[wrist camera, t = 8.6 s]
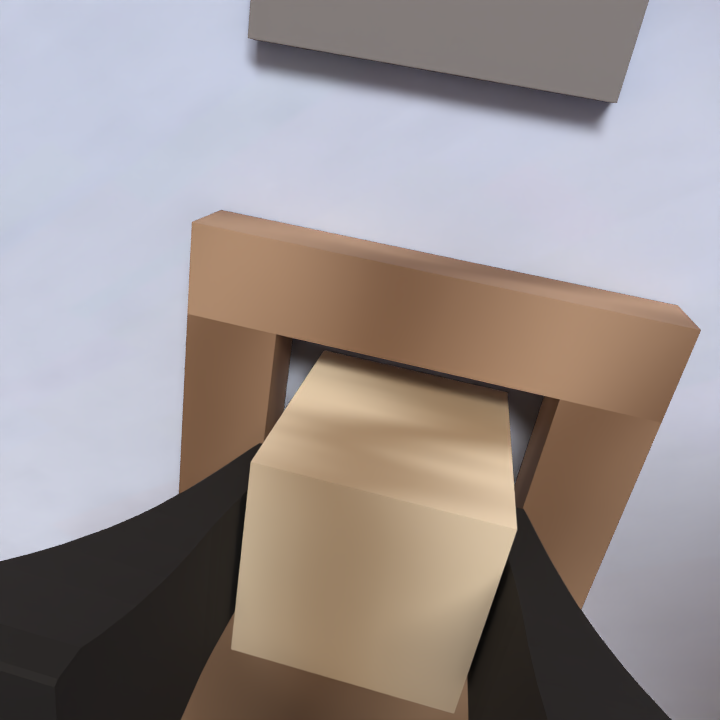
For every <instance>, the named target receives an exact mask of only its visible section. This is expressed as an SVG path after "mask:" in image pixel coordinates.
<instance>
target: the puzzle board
mask: <svg viewBox="0 0 720 720" xmlns="http://www.w3.org/2000/svg"><path fill="white" fill-rule="evenodd" d="M700 331H701V330H700V329H699V328H698V326H697V325H696V324H695V323H694V322H693V321H692V320H691V319H690V318H689V317H688V316H687V315H686V314H685V313H684V312H683V310H682V309H681V308H680V307H679V306H678V305H673V304H668V303H663V302H658V301H654V300H649V299H644V298H639V297H634V296H630V295H625V294H620V293H615V292H611V291H606V290H601V289H596V288H591V287H587V286H582V285H577V284H572V283H568V282H563V281H558V280H553V279H548V278H544V277H539V276H534V275H529V274H524V273H520V272H515V271H510V270H505V269H501V268H496V267H491V266H486V265H481V264H477V263H472V262H467V261H462V260H457V259H453V258H448V257H443V256H438V255H434V254H429V253H424V252H419V251H414V250H410V249H405V248H400V247H395V246H391V245H386V244H381V243H376V242H371V241H367V240H362V239H357V238H352V237H347V236H343V235H338V234H333V233H328V232H324V231H319V230H314V229H309V228H304V227H300V226H295V225H290V224H285V223H281V222H276V221H271V220H266V219H261V218H257V217H252V216H247V215H242V214H237V213H233V212H228V211H223V210H220V211H218V212H215V213H213V214H210V215H208V216H206V217H203V218H201V219H198V220H196V221H193V222H192V232H191V253H190V274H189V294H188V315H187V336H186V357H185V378H184V399H183V420H182V440H181V461H180V482H179V494H180V493H182V492H183V491H185V490H187V489H189V488H190V487H192V486H194V485H195V484H197V483H198V482H200V481H202V480H203V479H205V478H206V477H208V476H210V475H211V474H213V473H214V472H216V471H218V470H219V469H221V468H222V467H224V466H225V465H227V464H228V463H230V462H231V461H233V460H234V459H236V458H237V457H239V456H240V455H242V454H243V453H244V452H246V451H247V450H249V449H251V448H252V447H254V446H255V445H257V444H259V443H262V444H263V442H264V441H265V439H266V438H267V436H268V435H269V433H270V432H271V430H272V429H273V427H274V426H275V424H276V423H277V421H278V420H279V418H280V417H281V415H282V413H283V411H284V403H285V395H286V387H287V379H288V372H289V364H290V356H291V348H292V340H293V338H295V339H299V340H304V341H308V342H312V343H317V344H321V345H325V346H330V347H334V348H339V349H343V350H347V351H352V352H356V353H360V354H365V355H369V356H373V357H378V358H382V359H386V360H391V361H395V362H399V363H404V364H408V365H412V366H417V367H421V368H426V369H430V370H434V371H439V372H443V373H447V374H452V375H456V376H460V377H465V378H469V379H473V380H478V381H482V382H486V383H491V384H495V385H500V386H504V387H508V388H513V389H517V390H521V391H526V392H530V393H534V394H539V395H543V396H544V398H543V401H542V404H541V407H540V410H539V413H538V416H537V419H536V422H535V425H534V428H533V431H532V434H531V437H530V440H529V443H528V447H527V450H526V453H525V456H524V459H523V462H522V465H521V468H520V471H519V474H518V477H517V480H516V483H515V486H514V492H515V506H516V507H518V508H522V509H524V510H525V512H526V514H527V515H528V517H529V519H530V521H531V523H532V525H533V527H534V529H535V531H536V533H537V535H538V537H539V539H540V541H541V542H542V544H543V546H544V548H545V550H546V552H547V554H548V556H549V557H550V559H551V561H552V563H553V565H554V566H555V568H556V570H557V571H558V573H559V575H560V577H561V578H562V580H563V582H564V583H565V585H566V587H567V588H568V590H569V592H570V593H571V595H572V597H573V598H574V600H575V601H576V603H577V604H578V606H579V608H580V609H582V607H583V604H584V602H585V600H586V597H587V595H588V593H589V590H590V588H591V586H592V583H593V581H594V579H595V576H596V574H597V572H598V569H599V567H600V565H601V562H602V560H603V558H604V555H605V553H606V551H607V548H608V546H609V544H610V541H611V539H612V537H613V534H614V532H615V530H616V527H617V525H618V523H619V520H620V518H621V516H622V513H623V511H624V509H625V506H626V504H627V502H628V499H629V497H630V495H631V492H632V490H633V488H634V485H635V483H636V481H637V478H638V476H639V474H640V471H641V469H642V467H643V464H644V462H645V460H646V457H647V455H648V453H649V450H650V448H651V446H652V443H653V441H654V439H655V436H656V434H657V432H658V429H659V427H660V425H661V422H662V420H663V418H664V415H665V413H666V411H667V408H668V406H669V404H670V401H671V399H672V397H673V394H674V392H675V390H676V387H677V385H678V383H679V380H680V378H681V376H682V373H683V371H684V369H685V366H686V364H687V362H688V359H689V357H690V355H691V352H692V350H693V348H694V345H695V343H696V341H697V338H698V336H699V334H700ZM234 616H235V612H234V614H233V616H232V617H231V619H230V621H229V623H228V625H227V626H226V628H225V630H224V632H223V633H222V635H221V637H220V639H219V641H218V642H217V644H216V646H215V648H214V650H213V651H212V653H211V655H210V657H209V659H208V661H207V663H206V665H205V667H204V669H203V671H202V673H201V675H200V677H199V679H198V682H197V684H196V686H195V689H194V691H193V693H192V695H191V698H190V700H189V702H188V704H187V707H186V709H185V711H184V714H183V716H182V718H181V720H468V685H467V677H466V680H465V683H464V686H463V689H462V692H461V695H460V698H459V701H458V704H457V707H456V710H455V712H454V714H453V713H450V712H446V711H443V710H439V709H436V708H432V707H429V706H425V705H422V704H418V703H415V702H412V701H408V700H405V699H401V698H398V697H394V696H391V695H387V694H384V693H380V692H377V691H374V690H370V689H367V688H363V687H360V686H356V685H353V684H349V683H346V682H343V681H339V680H336V679H332V678H329V677H325V676H322V675H318V674H315V673H311V672H308V671H305V670H301V669H298V668H294V667H291V666H287V665H284V664H280V663H277V662H274V661H270V660H267V659H263V658H260V657H256V656H253V655H249V654H246V653H242V652H239V651H236V650H232V649H231V644H232V635H233V625H234Z"/></svg>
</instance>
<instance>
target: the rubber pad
mask: <svg viewBox="0 0 720 720" xmlns="http://www.w3.org/2000/svg"><path fill="white" fill-rule="evenodd" d="M648 2H649V0H251V2H250V15H249V29H248V38H250V39H254V40H258V41H264V42H270V43H275V44H281V45H287V46H292V47H298V48H304V49H309V50H315V51H321V52H326V53H332V54H338V55H343V56H349V57H355V58H360V59H366V60H372V61H378V62H383V63H389V64H395V65H400V66H406V67H412V68H417V69H423V70H429V71H434V72H440V73H446V74H451V75H457V76H463V77H468V78H474V79H480V80H485V81H491V82H497V83H502V84H508V85H514V86H519V87H525V88H531V89H536V90H542V91H548V92H553V93H559V94H565V95H570V96H576V97H582V98H587V99H593V100H599V101H604V102H610V103H617V101H618V97H619V94H620V91H621V88H622V85H623V81H624V78H625V75H626V72H627V69H628V66H629V62H630V59H631V56H632V53H633V50H634V46H635V43H636V40H637V37H638V34H639V30H640V27H641V24H642V21H643V18H644V14H645V11H646V8H647V5H648Z"/></svg>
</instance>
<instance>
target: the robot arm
mask: <svg viewBox="0 0 720 720" xmlns="http://www.w3.org/2000/svg"><path fill="white" fill-rule="evenodd" d="M261 446H262V443H259V444H257V445H255V446H254V447H252V448H251V449H249V450H247V451H246V452H244V453H243V454H242V455H240V456H239V457H237V458H236V459H234V460H233V461H231V462H230V463H228V464H227V465H225V466H224V467H222V468H221V469H219V470H218V471H216V472H214V473H213V474H211V475H210V476H208V477H206V478H205V479H203V480H202V481H200V482H198V483H197V484H195V485H194V486H192V487H190V488H189V489H187V490H185V491H183V492H182V493H180V494H178V495H176V496H174V497H173V498H171V499H169V500H167V501H165V502H164V503H162V504H160V505H158V506H156V507H154V508H152V509H150V510H148V511H146V512H144V513H142V514H140V515H138V516H135V517H133V518H131V519H128V520H126V521H124V522H121V523H119V524H117V525H114V526H112V527H110V528H107V529H104V530H101V531H99V532H96V533H93V534H90V535H87V536H85V537H82V538H79V539H76V540H73V541H71V542H68V543H65V544H62V545H59V546H55V547H52V548H49V549H45V550H42V551H38V552H35V553H31V554H27V555H23V556H20V557H16V558H12V559H8V560H4V561H0V720H181V718H182V716H183V714H184V711H185V709H186V707H187V704H188V702H189V700H190V698H191V695H192V693H193V691H194V689H195V686H196V684H197V682H198V679H199V677H200V675H201V673H202V671H203V669H204V667H205V665H206V663H207V661H208V659H209V657H210V655H211V653H212V651H213V650H214V648H215V646H216V644H217V642H218V641H219V639H220V637H221V635H222V633H223V632H224V630H225V628H226V626H227V625H228V623H229V621H230V619H231V617H232V616H233V614H234V612H235V606H236V597H237V588H238V578H239V569H240V559H241V550H242V540H243V531H244V521H245V512H246V502H247V493H248V483H249V474H250V464H251V461H252V459H253V458H254V456H255V455H256V453H257V452H258V450H259V449H260V447H261ZM516 520H517V532H516V535H515V537H514V540H513V543H512V546H511V549H510V552H509V555H508V558H507V561H506V564H505V567H504V570H503V572H502V575H501V578H500V581H499V584H498V587H497V590H496V593H495V596H494V599H493V602H492V605H491V607H490V610H489V613H488V616H487V619H486V622H485V625H484V628H483V631H482V634H481V637H480V640H479V642H478V645H477V648H476V651H475V654H474V657H473V660H472V663H471V666H470V669H469V672H468V675H467V685H468V720H671V719H670V718H669V717H668V716H667V715H666V714H665V713H664V711H663V710H662V709H661V708H660V707H659V706H658V705H657V704H656V703H655V702H654V701H653V699H652V698H651V697H650V696H649V695H648V694H647V693H646V692H645V691H644V690H643V689H642V688H641V686H640V685H639V684H638V683H637V682H636V681H635V680H634V678H633V677H632V676H631V675H630V674H629V673H628V671H627V670H626V669H625V668H624V667H623V665H622V664H621V663H620V662H619V660H618V659H617V658H616V657H615V655H614V654H613V653H612V652H611V650H610V649H609V648H608V646H607V645H606V644H605V643H604V641H603V640H602V639H601V637H600V636H599V635H598V633H597V632H596V631H595V629H594V628H593V627H592V625H591V624H590V622H589V621H588V619H587V618H586V616H585V615H584V613H583V612H582V610H581V609H580V608H579V606H578V604H577V603H576V601H575V600H574V598H573V597H572V595H571V593H570V592H569V590H568V588H567V587H566V585H565V583H564V582H563V580H562V578H561V577H560V575H559V573H558V571H557V570H556V568H555V566H554V565H553V563H552V561H551V559H550V557H549V556H548V554H547V552H546V550H545V548H544V546H543V544H542V542H541V541H540V539H539V537H538V535H537V533H536V531H535V529H534V527H533V525H532V523H531V521H530V519H529V517H528V515H527V514H526V512H525V510H524V509H522V508H518V507H516Z"/></svg>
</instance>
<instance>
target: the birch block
mask: <svg viewBox="0 0 720 720" xmlns="http://www.w3.org/2000/svg"><path fill="white" fill-rule="evenodd" d="M516 532H517V520H516V506H515V492H514V478H513V464H512V450H511V436H510V422H509V408H508V394H507V392H504V391H500V390H495V389H491V388H487V387H482V386H478V385H474V384H469V383H465V382H461V381H456V380H452V379H448V378H443V377H439V376H435V375H430V374H426V373H422V372H417V371H413V370H409V369H404V368H400V367H395V366H391V365H387V364H382V363H378V362H374V361H369V360H365V359H361V358H356V357H352V356H348V355H343V354H339V353H335V352H330V351H326V350H324V351H323V352H322V354H321V355H320V357H319V359H318V360H317V362H316V363H315V365H314V366H313V368H312V369H311V371H310V372H309V374H308V375H307V377H306V378H305V380H304V381H303V383H302V384H301V386H300V388H299V389H298V391H297V392H296V394H295V395H294V397H293V398H292V400H291V401H290V403H289V404H288V406H287V407H286V409H285V410H284V412H283V413H282V415H281V417H280V418H279V420H278V421H277V423H276V424H275V426H274V427H273V429H272V430H271V432H270V433H269V435H268V436H267V438H266V439H265V441H264V442H263V444H262V446H261V447H260V449H259V450H258V452H257V453H256V455H255V456H254V458H253V459H252V461H251V464H250V474H249V483H248V493H247V502H246V512H245V521H244V531H243V540H242V550H241V559H240V569H239V578H238V588H237V597H236V606H235V616H234V625H233V635H232V644H231V649H232V650H236V651H239V652H242V653H246V654H249V655H253V656H256V657H260V658H263V659H267V660H270V661H274V662H277V663H280V664H284V665H287V666H291V667H294V668H298V669H301V670H305V671H308V672H311V673H315V674H318V675H322V676H325V677H329V678H332V679H336V680H339V681H343V682H346V683H349V684H353V685H356V686H360V687H363V688H367V689H370V690H374V691H377V692H380V693H384V694H387V695H391V696H394V697H398V698H401V699H405V700H408V701H412V702H415V703H418V704H422V705H425V706H429V707H432V708H436V709H439V710H443V711H446V712H450V713H453V714H454V712H455V710H456V707H457V704H458V701H459V698H460V695H461V692H462V689H463V686H464V683H465V680H466V677H467V675H468V672H469V669H470V666H471V663H472V660H473V657H474V654H475V651H476V648H477V645H478V642H479V640H480V637H481V634H482V631H483V628H484V625H485V622H486V619H487V616H488V613H489V610H490V607H491V605H492V602H493V599H494V596H495V593H496V590H497V587H498V584H499V581H500V578H501V575H502V572H503V570H504V567H505V564H506V561H507V558H508V555H509V552H510V549H511V546H512V543H513V540H514V537H515V535H516Z"/></svg>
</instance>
